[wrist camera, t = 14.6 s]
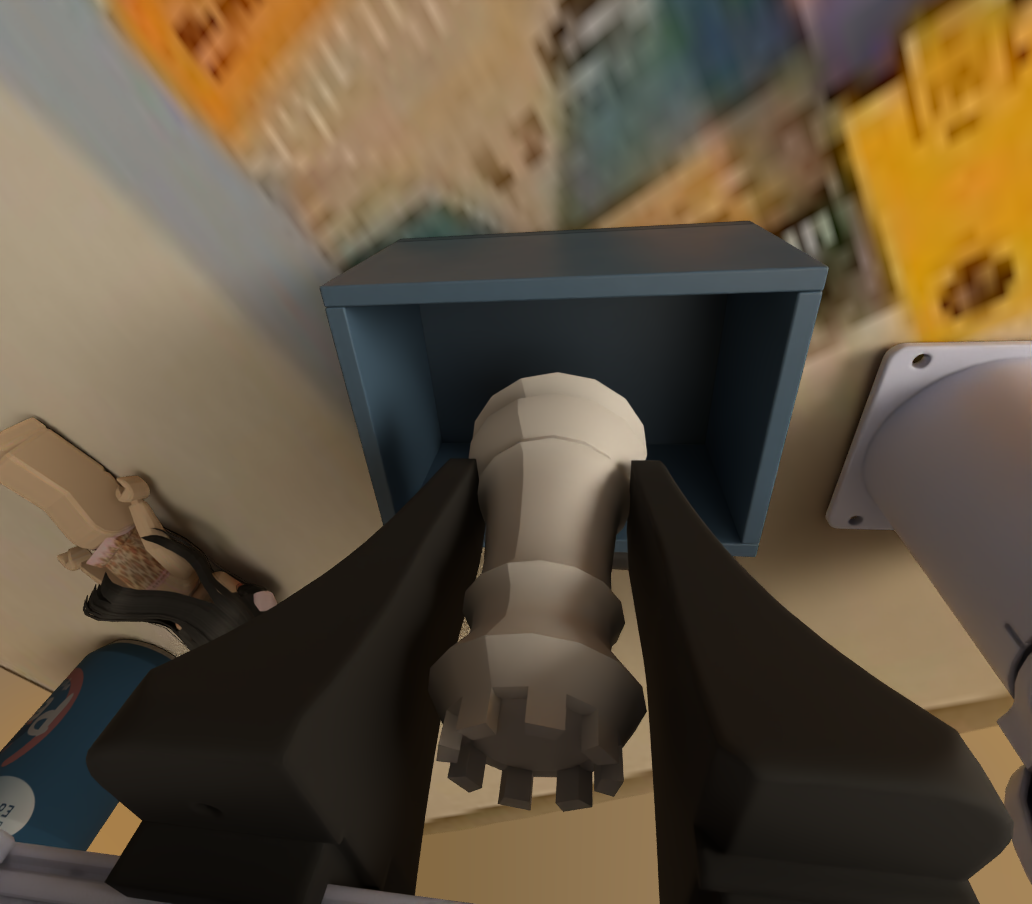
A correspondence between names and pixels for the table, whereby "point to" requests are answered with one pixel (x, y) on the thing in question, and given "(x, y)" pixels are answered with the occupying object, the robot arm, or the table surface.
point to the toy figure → (124, 542)
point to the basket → (585, 349)
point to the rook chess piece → (545, 597)
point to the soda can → (69, 750)
